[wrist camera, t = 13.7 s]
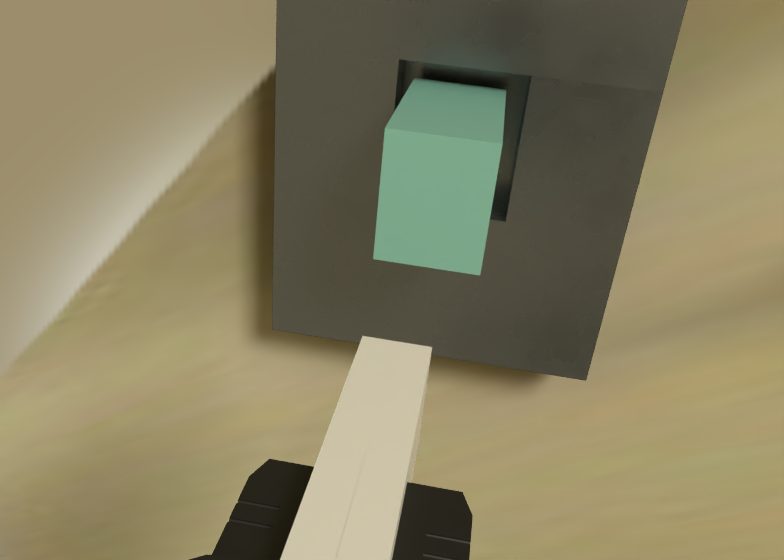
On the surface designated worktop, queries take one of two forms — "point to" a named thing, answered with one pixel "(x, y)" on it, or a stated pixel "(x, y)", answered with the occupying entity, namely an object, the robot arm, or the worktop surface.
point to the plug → (439, 175)
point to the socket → (514, 179)
